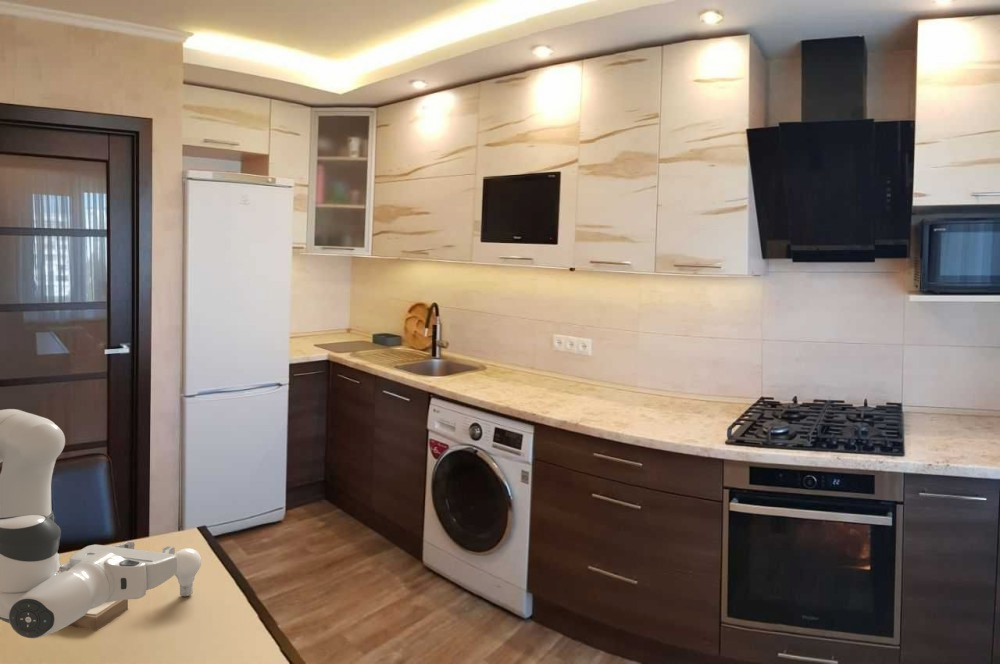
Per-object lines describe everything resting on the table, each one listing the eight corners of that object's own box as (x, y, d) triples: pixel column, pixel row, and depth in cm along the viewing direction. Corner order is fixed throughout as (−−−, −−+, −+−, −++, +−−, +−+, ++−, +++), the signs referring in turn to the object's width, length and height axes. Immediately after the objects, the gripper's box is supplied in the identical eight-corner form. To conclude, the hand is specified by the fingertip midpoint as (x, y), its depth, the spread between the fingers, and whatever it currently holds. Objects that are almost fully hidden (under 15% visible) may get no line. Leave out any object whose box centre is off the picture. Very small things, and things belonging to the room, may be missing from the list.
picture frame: (58, 624, 143) (58, 610, 142) (91, 604, 151) (91, 591, 151) (96, 630, 141) (96, 616, 141) (127, 609, 150) (127, 596, 150)
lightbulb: (164, 598, 155) (164, 551, 154) (189, 586, 161) (188, 541, 160) (183, 605, 152) (183, 557, 151) (207, 593, 158) (207, 547, 157)
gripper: (53, 586, 131) (107, 556, 145) (148, 600, 128) (195, 567, 141) (52, 554, 131) (107, 527, 144) (147, 567, 127) (194, 538, 141)
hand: (151, 547), depth 143 cm, fingers open, 8 cm apart
